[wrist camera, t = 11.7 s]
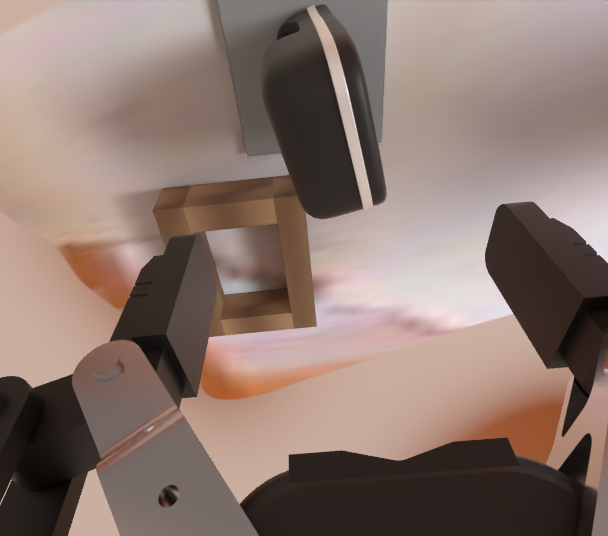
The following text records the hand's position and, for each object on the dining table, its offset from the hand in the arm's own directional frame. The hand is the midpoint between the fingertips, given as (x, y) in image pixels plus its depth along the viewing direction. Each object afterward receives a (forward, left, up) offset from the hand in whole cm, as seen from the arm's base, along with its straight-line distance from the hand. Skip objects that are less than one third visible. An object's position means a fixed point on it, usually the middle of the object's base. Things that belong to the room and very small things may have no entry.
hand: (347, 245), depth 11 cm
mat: (0, 0, -17) cm, 17 cm away
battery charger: (0, 0, -17) cm, 17 cm away
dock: (+6, +13, -17) cm, 22 cm away
